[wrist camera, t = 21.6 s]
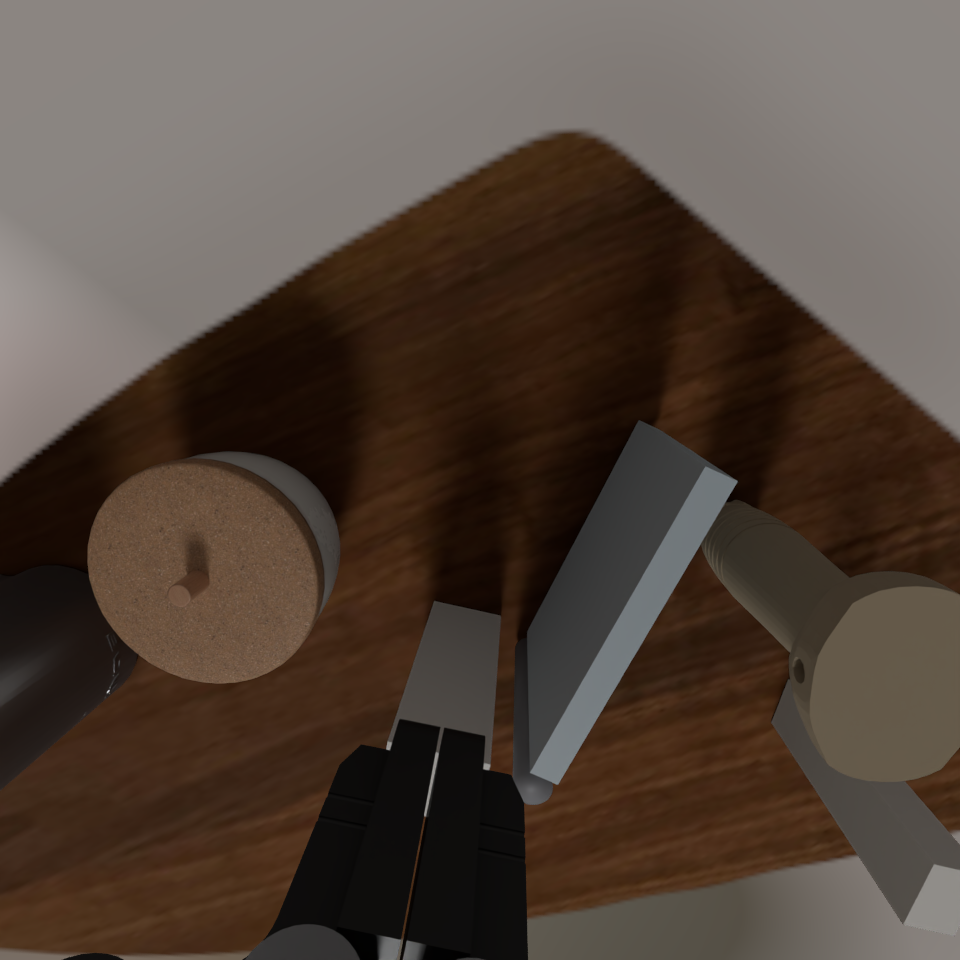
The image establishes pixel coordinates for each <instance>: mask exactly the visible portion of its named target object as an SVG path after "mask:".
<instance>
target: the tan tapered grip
mask: <svg viewBox="0 0 960 960" xmlns="http://www.w3.org/2000/svg"><path fill="white" fill-rule="evenodd" d="M701 546H702V550H703V552H704V555H705V557H706V559H707V561H708V563H709V564H710V566H711V568H712V569H713V571H714V572H715V574H716V575H717V577H718V578H719V580H720V581H721V582H722V583H723V585H724V586H725V587H726V588H727V590H728V591H729V592H730V593H731V594H732V596H733V597H734V598H735V599H736V600H737V601H738V602H739V603H740V604H742V605H743V606H744V607H745V608H746V609H747V610H748V611H749V612H750V613H751V614H752V615H753V616H754V617H755V618H756V619H757V620H758V621H759V622H760V623H761V624H762V625H763V626H764V627H765V628H766V629H767V630H768V631H769V632H770V633H771V634H772V635H773V636H774V637H775V638H776V639H777V640H778V641H779V642H780V643H781V644H782V645H783V646H784V647H785V648H786V649H787V650H788V651H789V652H790V655H789V674H790V680H791V686H792V692H793V696H794V700H795V703H796V706H797V709H798V712H799V714H800V717H801V719H802V722H803V724H804V726H805V728H806V730H807V733H808V735H809V737H810V739H811V741H812V743H813V745H814V746H815V748H816V749H817V750H818V752H819V753H820V755H821V756H822V758H823V759H824V760H825V762H826V763H827V764H828V765H829V766H830V767H832V768H833V769H835V770H836V771H838V772H840V773H842V774H845V775H847V776H849V777H853V778H857V779H861V780H866V781H876V782H900V781H906V780H913V779H917V778H920V777H923V776H926V775H929V774H931V773H934V772H936V771H938V770H940V769H942V768H943V766H944V765H945V764H946V763H947V762H948V760H949V759H950V758H951V757H952V756H953V755H954V753H955V752H956V751H957V750H958V749H959V747H960V595H959V594H958V593H956V592H954V591H953V590H951V589H949V588H947V587H945V586H944V585H942V584H940V583H938V582H935V581H933V580H931V579H929V578H927V577H924V576H919V575H915V574H911V573H905V572H893V571H885V572H871V573H866V574H861V575H856V576H854V577H851V578H849V577H848V576H847V575H846V574H845V573H843V572H842V571H841V570H840V569H839V568H837V567H836V566H835V565H834V564H833V563H832V562H831V561H829V560H828V559H827V558H826V557H825V556H824V555H823V554H822V553H820V552H819V551H818V550H817V549H816V548H815V547H814V546H812V545H811V544H810V543H809V542H808V541H807V540H806V539H805V538H803V537H802V536H801V535H800V534H799V533H797V532H796V531H795V530H793V529H792V528H791V527H789V526H788V525H786V524H785V523H783V522H782V521H780V520H778V519H777V518H775V517H773V516H771V515H769V514H767V513H765V512H763V511H761V510H758V509H756V508H753V507H752V506H750V505H749V504H747V503H744V502H742V501H739V500H733V501H732V502H725V504H724V505H723V507H722V509H721V511H720V512H719V514H718V516H717V517H716V519H715V521H714V522H713V524H712V526H711V527H710V529H709V531H708V532H707V534H706V536H705V537H704V539H703V541H702V543H701Z"/></svg>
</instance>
